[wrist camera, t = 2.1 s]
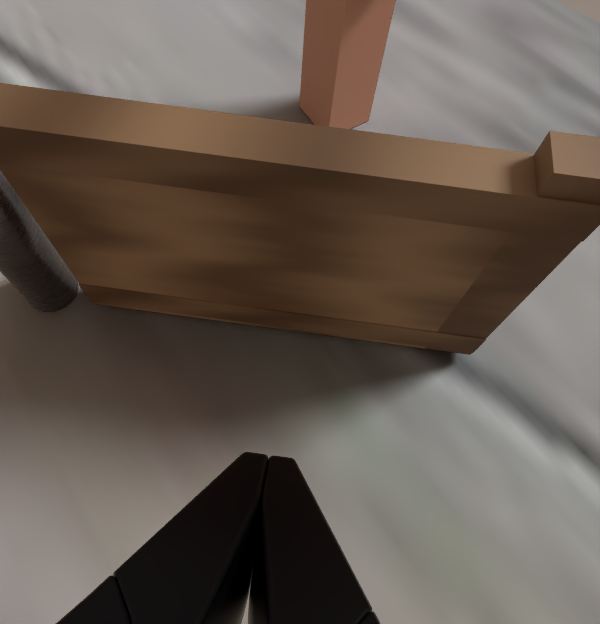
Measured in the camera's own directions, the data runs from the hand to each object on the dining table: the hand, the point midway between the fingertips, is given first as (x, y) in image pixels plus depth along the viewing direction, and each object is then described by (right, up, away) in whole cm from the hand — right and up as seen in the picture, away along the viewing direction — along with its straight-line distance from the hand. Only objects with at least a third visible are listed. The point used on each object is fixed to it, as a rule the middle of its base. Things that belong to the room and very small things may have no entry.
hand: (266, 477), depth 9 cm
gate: (0, +3, +12) cm, 13 cm away
